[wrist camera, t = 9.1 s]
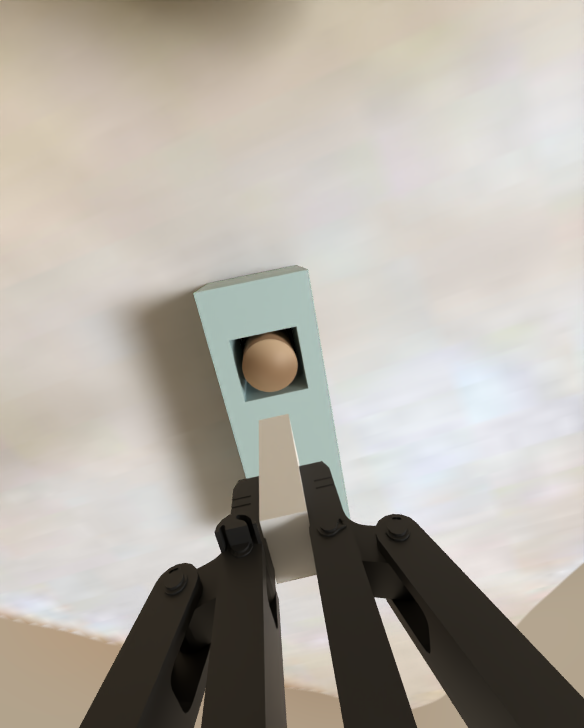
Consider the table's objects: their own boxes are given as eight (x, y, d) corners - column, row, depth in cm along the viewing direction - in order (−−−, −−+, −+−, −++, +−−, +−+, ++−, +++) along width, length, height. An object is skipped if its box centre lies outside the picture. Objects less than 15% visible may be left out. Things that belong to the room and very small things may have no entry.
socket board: (207, 283, 33) (193, 293, 26) (296, 265, 34) (307, 269, 26) (267, 506, 43) (269, 561, 35) (337, 490, 43) (354, 541, 35)
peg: (240, 325, 35) (236, 346, 27) (284, 316, 35) (292, 334, 27) (250, 366, 36) (249, 397, 29) (292, 357, 36) (302, 385, 29)
